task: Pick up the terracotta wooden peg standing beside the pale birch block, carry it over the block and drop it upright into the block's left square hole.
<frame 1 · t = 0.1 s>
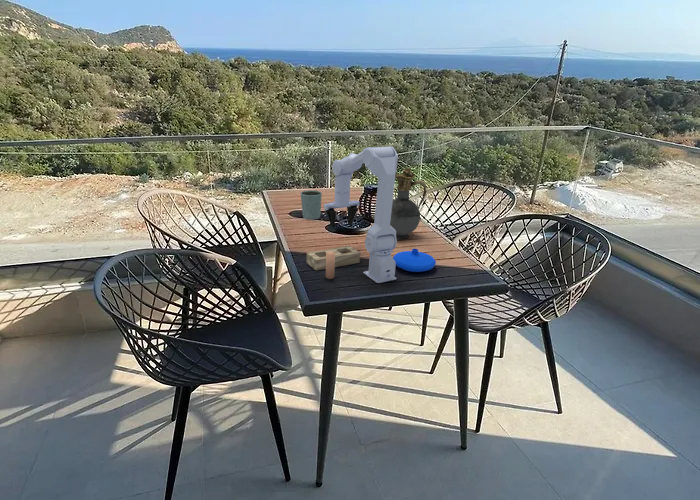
hand: (341, 225, 176), 10 cm above the table, tool pointing down, fingers open, 7 cm apart
peg: (330, 277, 155), on the table
pitcher: (403, 236, 198), on the table
blue round knobbed lid: (413, 268, 166), on the table
hole block: (333, 262, 167), on the table
green cup: (310, 217, 220), on the table
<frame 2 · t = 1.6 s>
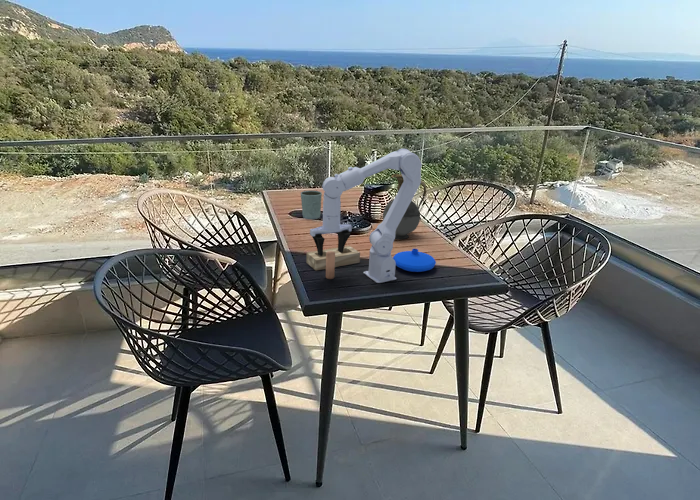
hand: (330, 253, 151), 9 cm above the table, tool pointing down, fingers open, 7 cm apart
nothing on the table moved.
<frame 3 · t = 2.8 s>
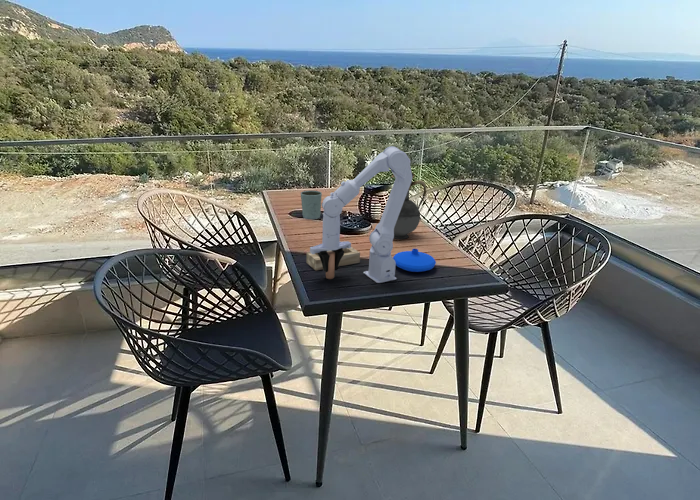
hand: (330, 270, 154), 3 cm above the table, tool pointing down, fingers closed on peg, 3 cm apart
peg: (330, 277, 155), on the table, touching gripper
everything else where it was.
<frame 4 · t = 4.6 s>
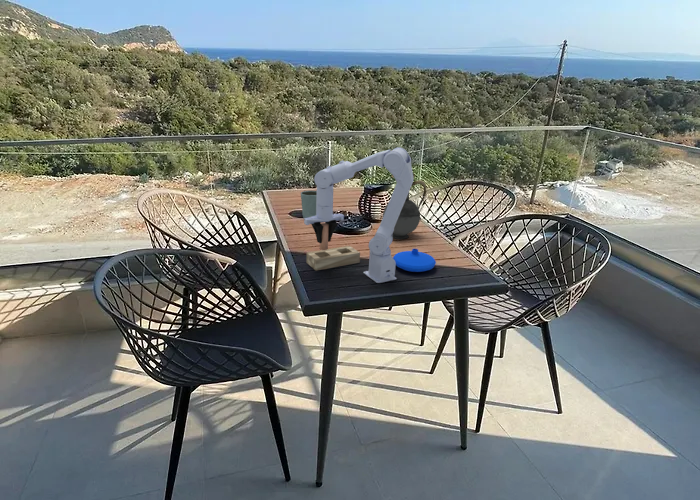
hand: (323, 241, 159), 10 cm above the table, tool pointing down, fingers closed on peg, 3 cm apart
peg: (323, 248, 160), point 7 cm above the table, touching gripper
everything else where it was.
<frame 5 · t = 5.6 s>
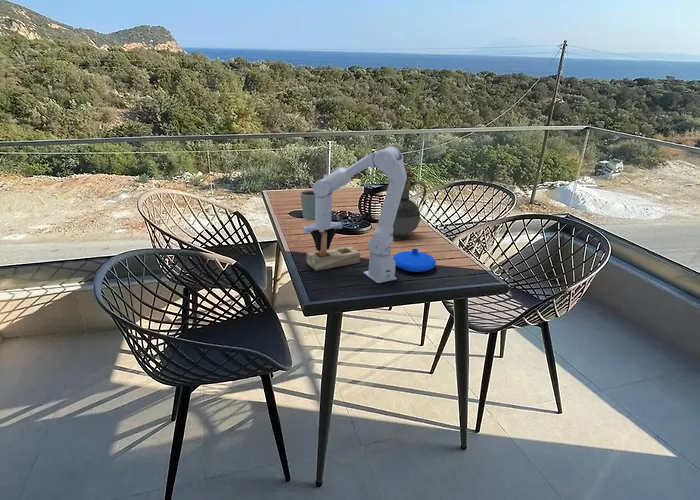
hand: (322, 249, 163), 6 cm above the table, tool pointing down, fingers closed on peg, 3 cm apart
peg: (322, 255, 163), point 3 cm above the table, touching gripper
everything else where it was.
when the fingers open (5 cm above the table, at t = 6.2 s): peg drops 2 cm, resting in hole block.
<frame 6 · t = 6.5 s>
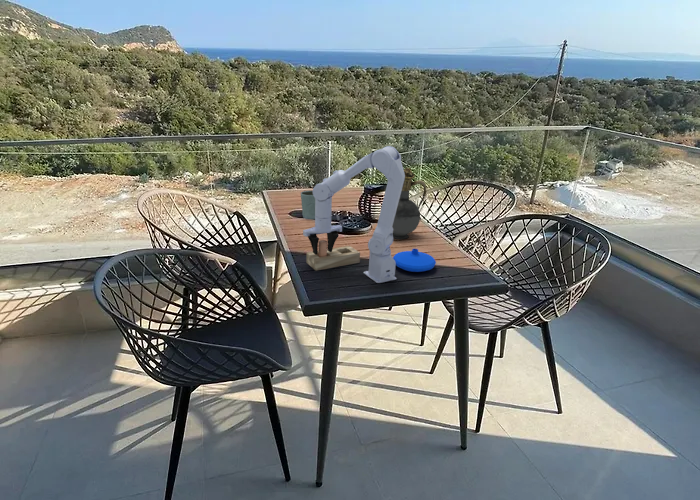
hand: (322, 252, 163), 5 cm above the table, tool pointing down, fingers open, 5 cm apart
peg: (322, 264, 165), resting in hole block
everything else where it was.
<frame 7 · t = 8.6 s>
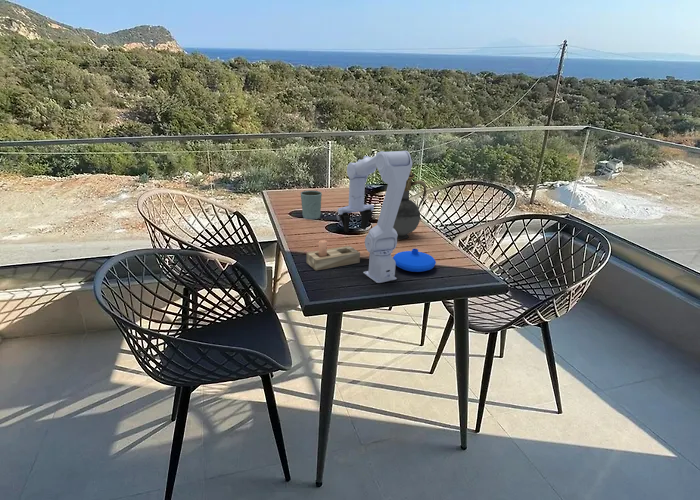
hand: (355, 230, 170), 10 cm above the table, tool pointing down, fingers open, 7 cm apart
nothing on the table moved.
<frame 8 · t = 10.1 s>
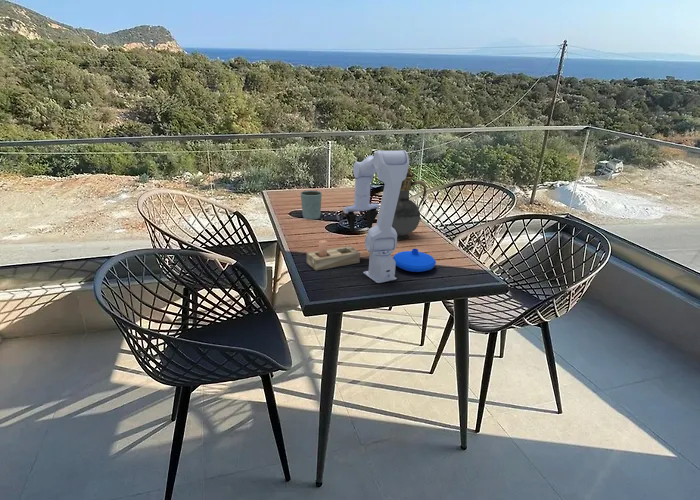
hand: (360, 229, 172), 10 cm above the table, tool pointing down, fingers open, 7 cm apart
nothing on the table moved.
at the end: peg 0.0 cm from the target spot on the hole block, point 0.0 cm above the hole block's base; peg tilted 1°; the gripper is holding nothing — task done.
